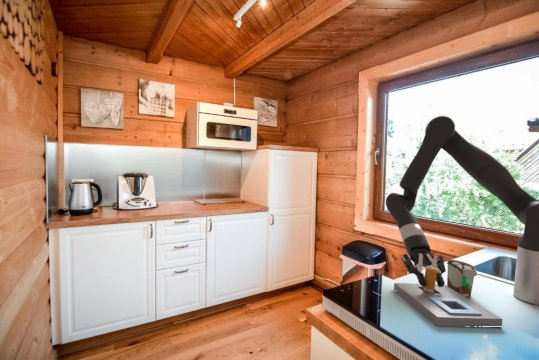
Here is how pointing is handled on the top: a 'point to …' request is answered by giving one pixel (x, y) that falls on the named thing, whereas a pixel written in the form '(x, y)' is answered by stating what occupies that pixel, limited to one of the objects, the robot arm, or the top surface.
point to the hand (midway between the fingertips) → (433, 285)
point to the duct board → (446, 306)
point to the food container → (460, 277)
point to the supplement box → (430, 279)
